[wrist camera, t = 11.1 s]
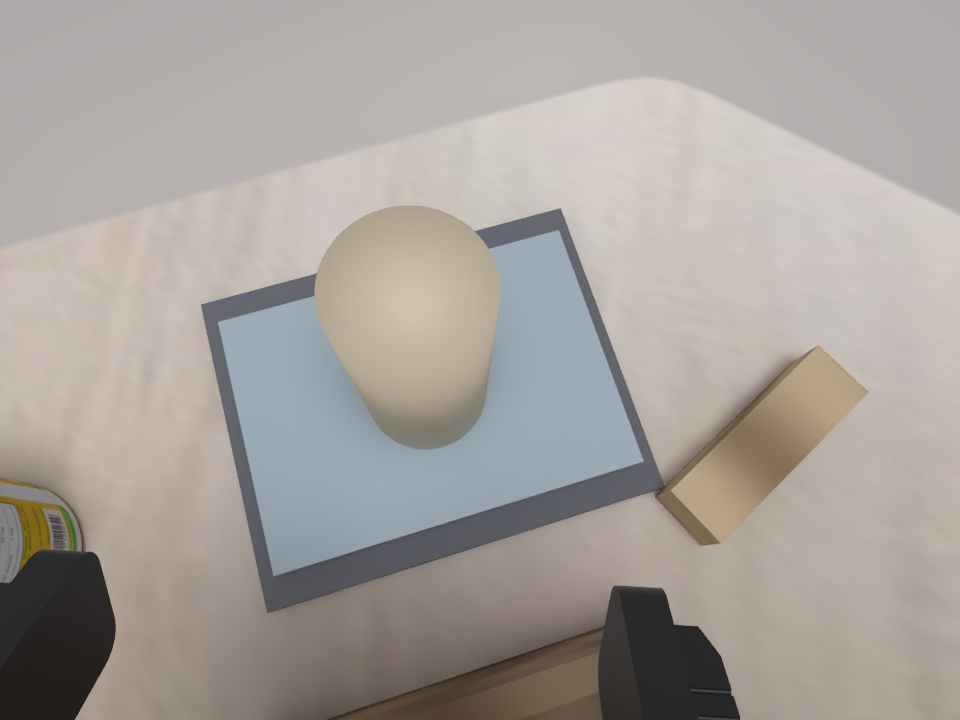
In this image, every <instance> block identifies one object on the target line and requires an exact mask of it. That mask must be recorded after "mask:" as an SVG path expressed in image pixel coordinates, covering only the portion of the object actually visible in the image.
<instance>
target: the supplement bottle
mask: <svg viewBox="0 0 960 720" xmlns="http://www.w3.org/2000/svg"><path fill="white" fill-rule="evenodd" d="M42 549H49V550H66V551H82V540H81V534H80V529H79V526H78V523H77V520H76V518H75V516H74V515H73V513H72V511H71V510H70V509H69V507H68V506H67V505H66V504H65V503H64V502H63V501H62V500H61V499H60V498H59V497H57V496H56V495H54V494H53V493H51V492H50V491H48V490H46V489H43V488H41V487H38V486H34V485H31V484H27V483H23V482H18V481H12V480H7V479H2V478H0V582H2V583H10V582H11V581H12V580H13V579H14V577H15V576H16V575H17V574H18V572H19V571H20V570H21V569H22V567H23V566H24V565H25V563H26V562H27V561H28V560H29V558H30V557H31V556H32V555H33V554H34V553H36V552H37V551H39V550H42Z"/></svg>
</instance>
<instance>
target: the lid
mask: <svg viewBox="0 0 960 720" xmlns="http://www.w3.org/2000/svg"><path fill="white" fill-rule="evenodd" d="M314 293H315V296H312V297H309V298H305V299H301V300H298V301H294V302H290V303H287V304H283V305H279V306H275V307H272V308H268V309H264V310H261V311H257V312H253V313H249V314H246V315H242V316H238V317H235V318H231V319H227V320H224V321H220V322H218V325H219V329H220V334H221V338H222V343H223V348H224V352H225V357H226V361H227V366H228V370H229V375H230V380H231V384H232V389H233V393H234V398H235V402H236V407H237V412H238V416H239V421H240V425H241V430H242V434H243V439H244V444H245V448H246V453H247V457H248V462H249V466H250V471H251V476H252V480H253V485H254V489H255V494H256V498H257V503H258V507H259V512H260V517H261V521H262V526H263V530H264V535H265V539H266V544H267V549H268V553H269V558H270V562H271V567H272V571H273V576H282V575H285V574H289V573H292V572H295V571H298V570H302V569H305V568H308V567H311V566H314V565H318V564H321V563H324V562H327V561H331V560H334V559H337V558H340V557H344V556H347V555H350V554H353V553H356V552H360V551H363V550H366V549H369V548H373V547H376V546H379V545H382V544H385V543H389V542H392V541H395V540H398V539H402V538H405V537H408V536H411V535H414V534H418V533H421V532H424V531H427V530H431V529H434V528H437V527H440V526H443V525H447V524H450V523H453V522H456V521H460V520H463V519H466V518H469V517H472V516H476V515H479V514H482V513H485V512H489V511H492V510H495V509H498V508H501V507H505V506H508V505H511V504H514V503H518V502H521V501H524V500H527V499H530V498H534V497H537V496H540V495H543V494H547V493H550V492H553V491H556V490H559V489H563V488H566V487H569V486H572V485H576V484H579V483H582V482H585V481H588V480H592V479H595V478H598V477H601V476H605V475H608V474H611V473H614V472H618V471H621V470H624V469H627V468H630V467H634V466H637V465H639V464H640V463H642V462H644V461H643V458H642V455H641V453H640V450H639V447H638V444H637V442H636V439H635V436H634V433H633V431H632V428H631V425H630V423H629V420H628V417H627V414H626V412H625V409H624V406H623V404H622V401H621V398H620V395H619V393H618V390H617V387H616V384H615V382H614V379H613V376H612V374H611V371H610V368H609V365H608V363H607V360H606V357H605V355H604V352H603V349H602V346H601V344H600V341H599V338H598V335H597V333H596V330H595V327H594V325H593V322H592V319H591V316H590V314H589V311H588V308H587V306H586V303H585V300H584V297H583V295H582V292H581V289H580V287H579V284H578V281H577V278H576V276H575V273H574V270H573V267H572V265H571V262H570V259H569V257H568V254H567V251H566V248H565V246H564V243H563V240H562V238H561V235H560V232H559V230H557V231H553V232H549V233H546V234H542V235H538V236H535V237H531V238H527V239H524V240H520V241H516V242H512V243H509V244H505V245H501V246H498V247H494V248H490V249H488V247H487V245H486V244H485V243H484V241H483V240H482V239H481V238H480V236H479V235H478V234H477V233H476V232H475V231H474V230H473V229H472V228H470V227H469V226H468V225H466V224H465V223H464V222H462V221H461V220H459V219H457V218H455V217H454V216H452V215H450V214H447V213H445V212H442V211H439V210H436V209H432V208H427V207H421V206H397V207H391V208H386V209H382V210H379V211H376V212H373V213H371V214H368V215H366V216H364V217H362V218H360V219H359V220H357V221H356V222H354V223H352V224H351V225H350V226H348V227H347V228H346V229H345V230H344V231H342V232H341V233H340V235H339V236H338V237H337V238H336V239H335V240H334V241H333V243H332V244H331V245H330V247H329V248H328V249H327V251H326V253H325V255H324V257H323V258H322V261H321V263H320V266H319V268H318V272H317V276H316V281H315V291H314Z"/></svg>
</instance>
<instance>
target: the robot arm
mask: <svg viewBox="0 0 960 720" xmlns="http://www.w3.org/2000/svg"><path fill="white" fill-rule="evenodd" d="M115 632H116V624H115V617H114V613H113V610H112V606H111V602H110V598H109V594H108V591H107V587H106V583H105V579H104V575H103V572H102V568H101V564H100V561H99V558H98V556H97V555H96V554H95V553H93V552H82V551H66V550H49V549H42V550H39V551H37V552H36V553H34V554H33V555H32V556H31V557H30V558H29V560H28V561H27V562H26V563H25V565H24V566H23V567H22V569H21V570H20V571H19V572H18V574H17V575H16V576H15V577H14V579H13V580H12V581H11V582H10V583H2V582H0V720H75V718H76V716H77V715H78V713H79V711H80V709H81V707H82V706H83V704H84V702H85V700H86V699H87V697H88V695H89V693H90V692H91V690H92V688H93V686H94V684H95V683H96V681H97V679H98V677H99V676H100V674H101V672H102V670H103V668H104V667H105V665H106V663H107V661H108V659H109V657H110V654H111V651H112V648H113V644H114V639H115ZM598 685H599V696H600V703H601V711H602V718H603V720H740V715H739V712H738V709H737V706H736V703H735V699H734V696H732V695H731V687H730V684H729V680H728V677H727V674H726V671H725V668H724V665H723V662H722V658H721V656H720V654H719V653H718V652H717V651H716V649H715V648H714V647H713V645H712V644H711V643H710V641H709V640H708V639H707V638H706V636H705V635H704V634H703V632H702V631H701V630H700V628H699V627H698V626H682V625H674V623H673V619H672V615H671V612H670V608H669V604H668V600H667V597H666V594H665V592H664V590H663V589H662V588H647V587H630V586H614V587H613V589H612V592H611V596H610V601H609V606H608V611H607V616H606V621H605V626H604V631H603V636H602V641H601V646H600V652H599V662H598Z"/></svg>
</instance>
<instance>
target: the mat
mask: <svg viewBox="0 0 960 720" xmlns="http://www.w3.org/2000/svg"><path fill="white" fill-rule="evenodd" d="M557 230H559V232H560V235H561V238H562V240H563V243H564V246H565V248H566V251H567V254H568V257H569V259H570V262H571V265H572V267H573V270H574V273H575V276H576V278H577V281H578V284H579V287H580V289H581V292H582V295H583V297H584V300H585V303H586V306H587V308H588V311H589V314H590V316H591V319H592V322H593V325H594V327H595V330H596V333H597V335H598V338H599V341H600V344H601V346H602V349H603V352H604V355H605V357H606V360H607V363H608V365H609V368H610V371H611V374H612V376H613V379H614V382H615V384H616V387H617V390H618V393H619V395H620V398H621V401H622V404H623V406H624V409H625V412H626V414H627V417H628V420H629V423H630V425H631V428H632V431H633V433H634V436H635V439H636V442H637V444H638V447H639V450H640V453H641V455H642V458H643V461H644V462H642V463H640V464H639V465H637V466H634V467H630V468H627V469H624V470H621V471H618V472H614V473H611V474H608V475H605V476H601V477H598V478H595V479H592V480H588V481H585V482H582V483H579V484H576V485H572V486H569V487H566V488H563V489H559V490H556V491H553V492H550V493H547V494H543V495H540V496H537V497H534V498H530V499H527V500H524V501H521V502H518V503H514V504H511V505H508V506H505V507H501V508H498V509H495V510H492V511H489V512H485V513H482V514H479V515H476V516H472V517H469V518H466V519H463V520H460V521H456V522H453V523H450V524H447V525H443V526H440V527H437V528H434V529H431V530H427V531H424V532H421V533H418V534H414V535H411V536H408V537H405V538H402V539H398V540H395V541H392V542H389V543H385V544H382V545H379V546H376V547H373V548H369V549H366V550H363V551H360V552H356V553H353V554H350V555H347V556H344V557H340V558H337V559H334V560H331V561H327V562H324V563H321V564H318V565H314V566H311V567H308V568H305V569H302V570H298V571H295V572H292V573H289V574H285V575H282V576H273V571H272V567H271V562H270V558H269V553H268V549H267V544H266V539H265V535H264V530H263V526H262V521H261V517H260V512H259V507H258V503H257V498H256V494H255V489H254V485H253V480H252V476H251V471H250V466H249V462H248V457H247V453H246V448H245V444H244V439H243V434H242V430H241V425H240V421H239V416H238V412H237V407H236V402H235V398H234V393H233V389H232V384H231V380H230V375H229V370H228V366H227V361H226V357H225V352H224V348H223V343H222V338H221V334H220V329H219V325H218V322H220V321H224V320H227V319H231V318H235V317H238V316H242V315H246V314H249V313H253V312H257V311H261V310H264V309H268V308H272V307H275V306H279V305H283V304H287V303H290V302H294V301H298V300H301V299H305V298H309V297H312V296H315V293H314V291H315V281H316V276H317V274H314V275H310V276H306V277H302V278H299V279H295V280H291V281H288V282H284V283H280V284H276V285H273V286H269V287H265V288H261V289H258V290H254V291H250V292H246V293H243V294H239V295H235V296H232V297H228V298H224V299H220V300H217V301H213V302H209V303H205V304H202V305H201V307H202V311H203V316H204V321H205V325H206V330H207V335H208V339H209V344H210V349H211V353H212V358H213V363H214V367H215V372H216V376H217V381H218V386H219V390H220V395H221V400H222V404H223V409H224V414H225V418H226V423H227V428H228V432H229V437H230V442H231V446H232V451H233V455H234V460H235V465H236V469H237V474H238V479H239V483H240V488H241V493H242V497H243V502H244V507H245V511H246V516H247V521H248V525H249V530H250V534H251V539H252V544H253V548H254V553H255V558H256V562H257V567H258V572H259V576H260V581H261V586H262V590H263V595H264V600H265V604H266V609H267V613H268V612H272V611H275V610H278V609H281V608H284V607H287V606H291V605H294V604H297V603H300V602H303V601H306V600H310V599H313V598H316V597H319V596H322V595H325V594H329V593H332V592H335V591H338V590H341V589H344V588H348V587H351V586H354V585H357V584H360V583H363V582H366V581H370V580H373V579H376V578H379V577H382V576H385V575H389V574H392V573H395V572H398V571H401V570H404V569H408V568H411V567H414V566H417V565H420V564H423V563H427V562H430V561H433V560H436V559H439V558H442V557H445V556H449V555H452V554H455V553H458V552H461V551H464V550H468V549H471V548H474V547H477V546H480V545H483V544H487V543H490V542H493V541H496V540H499V539H502V538H506V537H509V536H512V535H515V534H518V533H521V532H524V531H528V530H531V529H534V528H537V527H540V526H543V525H547V524H550V523H553V522H556V521H559V520H562V519H566V518H569V517H572V516H575V515H578V514H581V513H585V512H588V511H591V510H594V509H597V508H600V507H603V506H607V505H610V504H613V503H616V502H619V501H622V500H626V499H629V498H632V497H635V496H638V495H641V494H645V493H648V492H651V491H654V490H657V489H660V488H663V487H664V484H663V482H662V479H661V476H660V474H659V471H658V468H657V466H656V463H655V460H654V458H653V455H652V452H651V450H650V447H649V444H648V442H647V439H646V436H645V433H644V431H643V428H642V425H641V423H640V420H639V417H638V415H637V412H636V409H635V407H634V404H633V401H632V399H631V396H630V393H629V391H628V388H627V385H626V383H625V380H624V377H623V374H622V372H621V369H620V366H619V364H618V361H617V358H616V356H615V353H614V350H613V348H612V345H611V342H610V340H609V337H608V334H607V332H606V329H605V326H604V324H603V321H602V318H601V316H600V313H599V310H598V307H597V305H596V302H595V299H594V297H593V294H592V291H591V289H590V286H589V283H588V281H587V278H586V275H585V273H584V270H583V267H582V265H581V262H580V259H579V257H578V254H577V251H576V248H575V246H574V243H573V240H572V238H571V235H570V232H569V230H568V227H567V224H566V222H565V219H564V216H563V214H562V211H561V208H560V209H556V210H552V211H549V212H545V213H541V214H538V215H534V216H530V217H526V218H523V219H519V220H515V221H511V222H508V223H504V224H500V225H496V226H493V227H489V228H485V229H482V230H478V231H475V232H476V233H477V234H478V235H479V236H480V238H481V239H482V240H483V241H484V243H485V244H486V245H487V247H488V249H490V248H494V247H498V246H501V245H505V244H509V243H512V242H516V241H520V240H524V239H527V238H531V237H535V236H538V235H542V234H546V233H549V232H553V231H557Z"/></svg>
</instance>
